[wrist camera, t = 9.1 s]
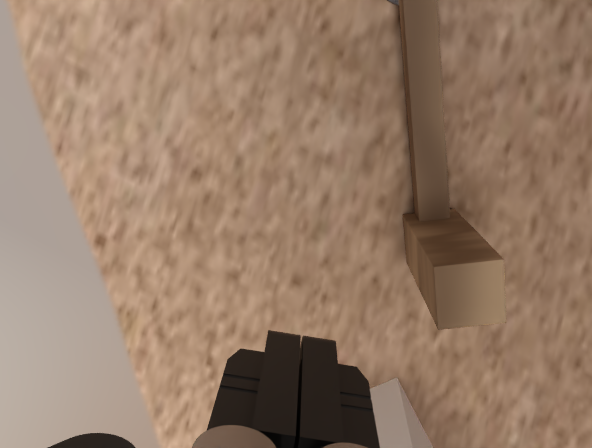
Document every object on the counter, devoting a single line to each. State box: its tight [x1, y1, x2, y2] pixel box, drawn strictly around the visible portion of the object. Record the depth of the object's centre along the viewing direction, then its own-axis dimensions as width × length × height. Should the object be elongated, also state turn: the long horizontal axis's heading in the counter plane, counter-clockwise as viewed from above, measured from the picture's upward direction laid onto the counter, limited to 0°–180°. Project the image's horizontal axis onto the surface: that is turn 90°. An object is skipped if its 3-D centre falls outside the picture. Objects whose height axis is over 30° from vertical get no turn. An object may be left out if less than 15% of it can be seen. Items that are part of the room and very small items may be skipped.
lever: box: [399, 0, 506, 330], centre depth 28 cm, size 3×28×10 cm, turn 7°
